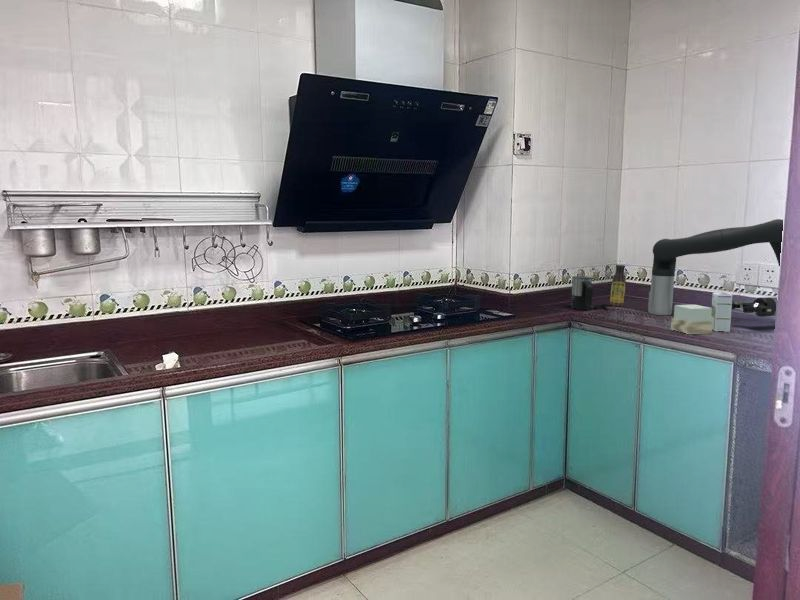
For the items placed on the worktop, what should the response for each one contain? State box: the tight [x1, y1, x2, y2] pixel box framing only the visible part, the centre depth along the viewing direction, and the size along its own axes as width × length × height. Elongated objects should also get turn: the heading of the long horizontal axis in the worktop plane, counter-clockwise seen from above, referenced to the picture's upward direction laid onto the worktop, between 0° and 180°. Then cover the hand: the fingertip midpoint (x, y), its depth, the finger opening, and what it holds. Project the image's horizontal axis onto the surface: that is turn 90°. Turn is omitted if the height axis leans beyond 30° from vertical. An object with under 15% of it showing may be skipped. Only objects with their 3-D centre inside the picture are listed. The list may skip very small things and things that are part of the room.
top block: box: [673, 304, 712, 322], centre depth 226 cm, size 9×9×5 cm
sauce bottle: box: [609, 264, 627, 307], centre depth 287 cm, size 7×6×20 cm
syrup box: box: [711, 291, 733, 333], centre depth 229 cm, size 6×6×14 cm
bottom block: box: [670, 317, 713, 335], centre depth 227 cm, size 10×10×5 cm
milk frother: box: [570, 275, 611, 310], centre depth 279 cm, size 14×16×15 cm
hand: (735, 308), depth 231 cm, fingers open, 8 cm apart
